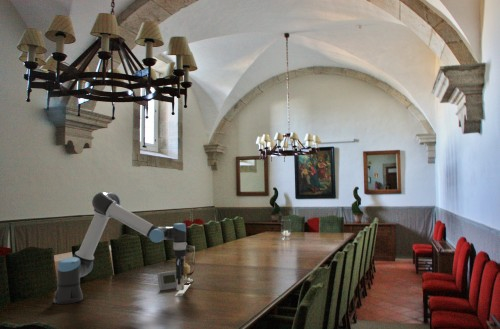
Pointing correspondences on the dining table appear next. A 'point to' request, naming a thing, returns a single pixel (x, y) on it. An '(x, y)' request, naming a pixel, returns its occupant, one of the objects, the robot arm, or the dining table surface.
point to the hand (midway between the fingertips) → (180, 288)
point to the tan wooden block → (182, 282)
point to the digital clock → (167, 280)
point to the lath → (182, 290)
